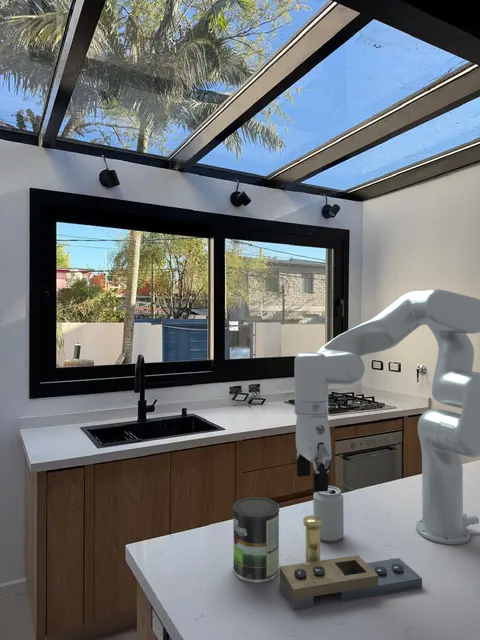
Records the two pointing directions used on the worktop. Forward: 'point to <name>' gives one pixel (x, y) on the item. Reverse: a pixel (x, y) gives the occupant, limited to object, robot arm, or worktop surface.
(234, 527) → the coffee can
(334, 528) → the can
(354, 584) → the peg hole board
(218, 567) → the worktop surface
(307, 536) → the pin
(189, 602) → the worktop surface
